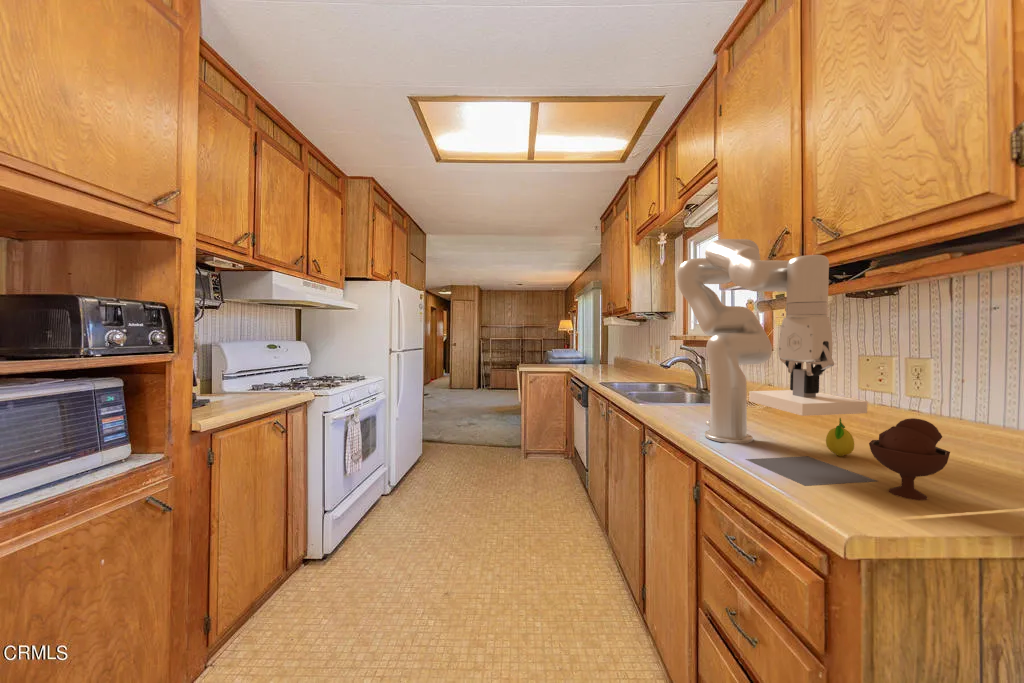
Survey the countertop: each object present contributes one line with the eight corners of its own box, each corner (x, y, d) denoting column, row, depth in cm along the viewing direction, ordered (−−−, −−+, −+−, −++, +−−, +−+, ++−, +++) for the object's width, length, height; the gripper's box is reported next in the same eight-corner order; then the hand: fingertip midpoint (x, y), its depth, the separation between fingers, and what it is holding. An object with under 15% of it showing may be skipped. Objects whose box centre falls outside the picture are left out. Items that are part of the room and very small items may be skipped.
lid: (749, 401, 96) (749, 366, 95) (805, 399, 97) (805, 365, 97) (802, 415, 81) (803, 375, 80) (867, 413, 82) (868, 373, 82)
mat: (745, 460, 96) (745, 459, 96) (807, 457, 98) (807, 456, 98) (805, 487, 79) (805, 485, 79) (878, 483, 81) (878, 481, 81)
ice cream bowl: (887, 482, 81) (887, 410, 81) (964, 503, 71) (964, 421, 71) (856, 489, 78) (856, 415, 77) (932, 513, 67) (933, 427, 67)
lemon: (840, 452, 102) (841, 414, 101) (863, 459, 96) (863, 419, 96) (817, 453, 101) (817, 415, 101) (838, 461, 95) (838, 420, 95)
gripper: (763, 312, 96) (762, 386, 96) (824, 309, 79) (821, 399, 80) (791, 312, 97) (789, 385, 97) (857, 309, 80) (854, 398, 81)
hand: (804, 390), depth 89 cm, fingers closed on lid, 3 cm apart
